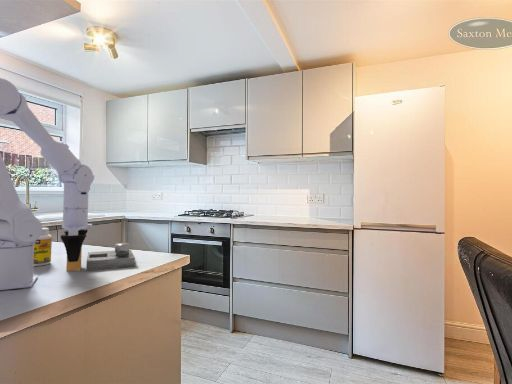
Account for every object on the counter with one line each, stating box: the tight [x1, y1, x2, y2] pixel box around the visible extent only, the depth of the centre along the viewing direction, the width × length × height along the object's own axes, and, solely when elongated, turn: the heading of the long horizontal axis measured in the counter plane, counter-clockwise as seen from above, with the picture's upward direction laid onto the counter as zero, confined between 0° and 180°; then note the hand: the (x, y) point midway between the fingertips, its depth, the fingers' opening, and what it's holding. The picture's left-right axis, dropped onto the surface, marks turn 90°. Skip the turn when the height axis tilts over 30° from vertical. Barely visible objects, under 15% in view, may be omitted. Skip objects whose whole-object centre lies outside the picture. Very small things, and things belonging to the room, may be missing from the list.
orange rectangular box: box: [65, 245, 83, 272], centre depth 79 cm, size 3×3×7 cm
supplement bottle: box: [33, 227, 53, 267], centre depth 82 cm, size 6×6×10 cm
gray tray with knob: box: [85, 242, 136, 271], centre depth 85 cm, size 12×12×6 cm
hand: (74, 258), depth 79 cm, fingers open, 7 cm apart
